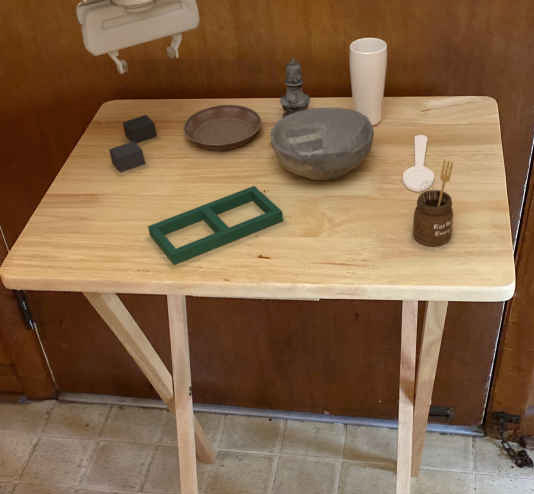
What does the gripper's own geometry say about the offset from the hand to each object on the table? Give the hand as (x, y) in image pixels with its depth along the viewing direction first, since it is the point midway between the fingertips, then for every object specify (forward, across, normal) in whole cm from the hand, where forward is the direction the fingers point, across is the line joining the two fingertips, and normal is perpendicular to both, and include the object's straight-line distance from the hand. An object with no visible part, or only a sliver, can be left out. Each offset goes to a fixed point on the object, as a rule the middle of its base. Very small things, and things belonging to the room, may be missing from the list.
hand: (148, 64), depth 143 cm
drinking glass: (+17, +37, -13) cm, 43 cm away
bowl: (+17, +22, -23) cm, 36 cm away
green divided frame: (+16, -2, -30) cm, 34 cm away
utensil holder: (+17, +26, -50) cm, 59 cm away
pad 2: (+16, -8, -2) cm, 18 cm away
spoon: (+17, +36, -31) cm, 51 cm away
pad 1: (+16, -2, +7) cm, 18 cm away
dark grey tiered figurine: (+17, +26, -4) cm, 32 cm away
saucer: (+17, +11, -3) cm, 20 cm away
